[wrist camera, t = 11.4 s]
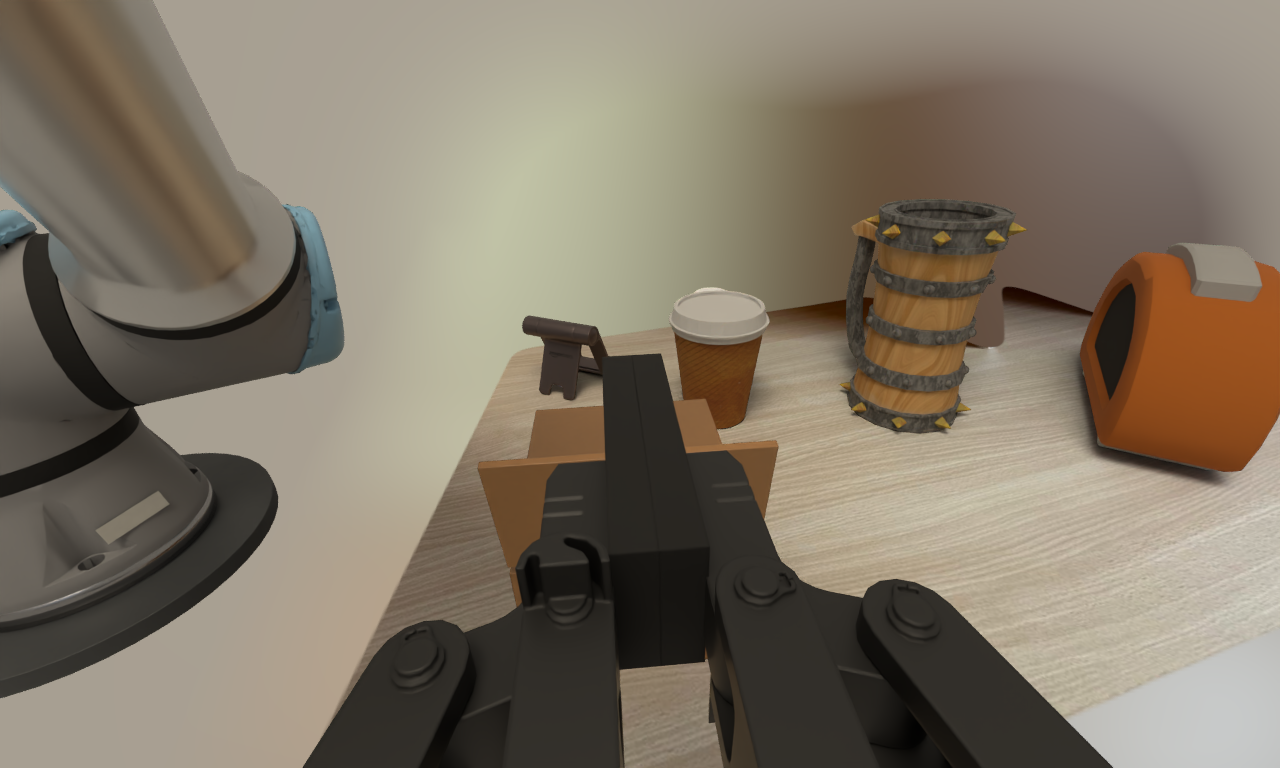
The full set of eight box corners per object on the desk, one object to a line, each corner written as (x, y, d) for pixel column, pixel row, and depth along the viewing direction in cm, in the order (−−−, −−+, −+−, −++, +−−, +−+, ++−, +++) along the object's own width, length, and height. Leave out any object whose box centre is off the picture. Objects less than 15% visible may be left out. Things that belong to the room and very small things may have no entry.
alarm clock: (1073, 360, 64) (1129, 217, 56) (1172, 376, 60) (1248, 224, 52) (1092, 465, 47) (1178, 280, 39) (1234, 499, 43) (1363, 298, 34)
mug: (894, 452, 49) (945, 233, 40) (789, 373, 64) (809, 198, 54) (1000, 423, 53) (1071, 215, 43) (878, 354, 67) (911, 187, 58)
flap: (776, 439, 23) (779, 446, 23) (757, 540, 28) (758, 547, 28) (478, 461, 23) (477, 468, 22) (508, 561, 27) (507, 568, 27)
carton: (703, 492, 45) (706, 397, 41) (748, 655, 32) (759, 541, 28) (549, 504, 45) (535, 409, 40) (531, 675, 32) (506, 562, 27)
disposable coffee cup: (701, 448, 51) (704, 332, 45) (653, 404, 58) (651, 300, 53) (780, 421, 55) (792, 310, 49) (725, 383, 62) (730, 283, 56)
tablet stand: (623, 374, 65) (619, 309, 61) (590, 405, 59) (583, 335, 55) (562, 362, 69) (555, 299, 64) (525, 389, 62) (514, 323, 58)
